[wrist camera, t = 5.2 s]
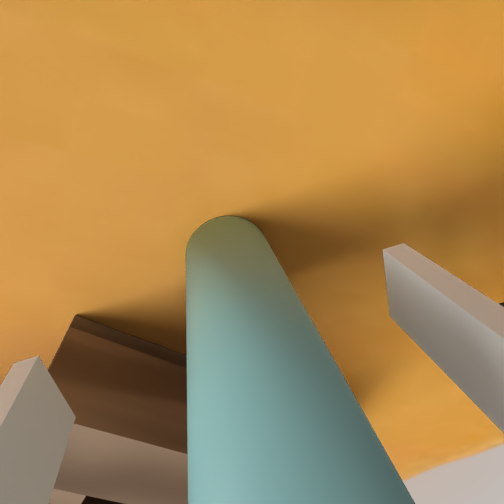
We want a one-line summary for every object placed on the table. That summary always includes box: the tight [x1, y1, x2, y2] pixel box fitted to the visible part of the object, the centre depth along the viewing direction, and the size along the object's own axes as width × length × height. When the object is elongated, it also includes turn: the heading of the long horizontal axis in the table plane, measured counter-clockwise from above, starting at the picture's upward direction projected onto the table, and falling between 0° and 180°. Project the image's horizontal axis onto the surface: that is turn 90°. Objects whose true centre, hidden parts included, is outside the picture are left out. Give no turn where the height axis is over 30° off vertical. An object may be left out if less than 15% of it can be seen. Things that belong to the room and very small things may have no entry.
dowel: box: [186, 216, 415, 504], centre depth 12 cm, size 4×4×14 cm
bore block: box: [48, 315, 188, 504], centre depth 19 cm, size 12×12×6 cm
